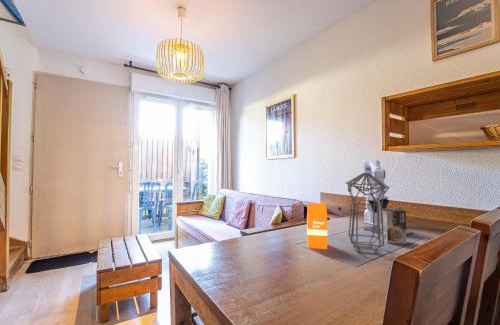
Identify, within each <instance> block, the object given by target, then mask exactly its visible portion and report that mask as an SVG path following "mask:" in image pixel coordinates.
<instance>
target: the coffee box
mask: <svg viewBox="0 0 500 325" xmlns="http://www.w3.org/2000/svg"><path fill="white" fill-rule="evenodd" d="M382 212H383V233H384V243H386V244H404V245H405V244H407V235H406V230H407V215H406V214H407V211H406V210H404V209H402V208H386V209H382Z"/></svg>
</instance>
